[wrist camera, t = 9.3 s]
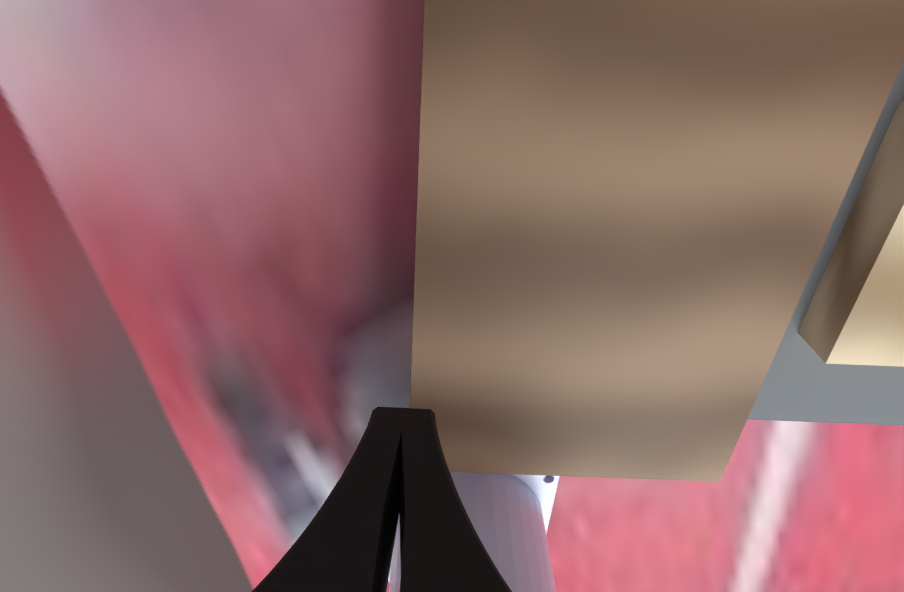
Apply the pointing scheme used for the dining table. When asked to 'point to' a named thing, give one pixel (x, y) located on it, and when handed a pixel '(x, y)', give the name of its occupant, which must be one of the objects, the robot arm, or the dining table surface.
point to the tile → (866, 270)
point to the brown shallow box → (626, 218)
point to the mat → (799, 367)
